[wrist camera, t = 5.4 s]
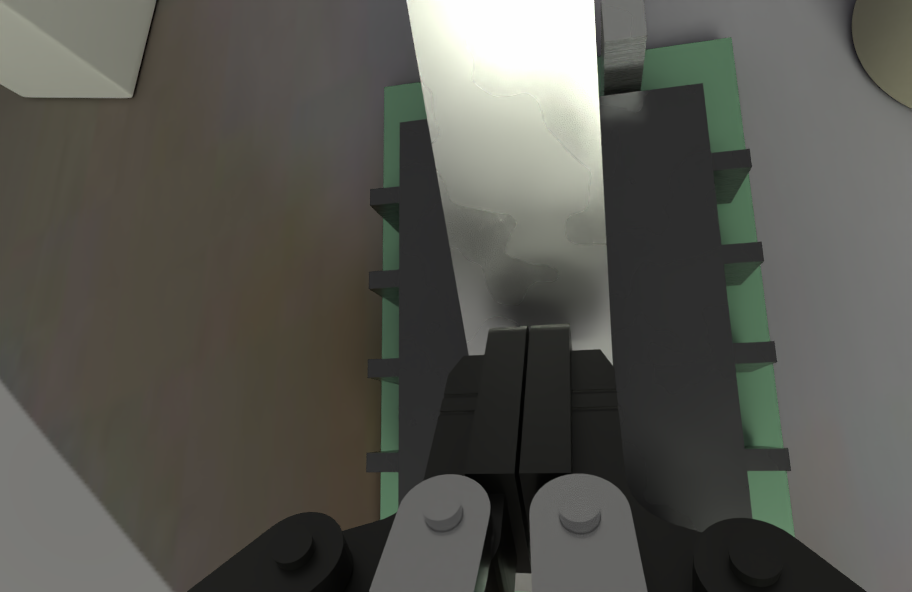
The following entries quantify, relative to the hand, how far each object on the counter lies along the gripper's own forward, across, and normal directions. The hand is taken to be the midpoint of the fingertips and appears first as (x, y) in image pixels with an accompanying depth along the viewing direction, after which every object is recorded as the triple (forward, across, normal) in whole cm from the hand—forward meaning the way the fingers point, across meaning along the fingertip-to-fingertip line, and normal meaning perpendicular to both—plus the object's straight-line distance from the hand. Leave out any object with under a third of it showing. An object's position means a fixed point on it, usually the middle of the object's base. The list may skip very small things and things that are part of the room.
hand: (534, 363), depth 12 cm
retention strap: (+2, 0, +1) cm, 2 cm away
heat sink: (+10, 0, +6) cm, 11 cm away
